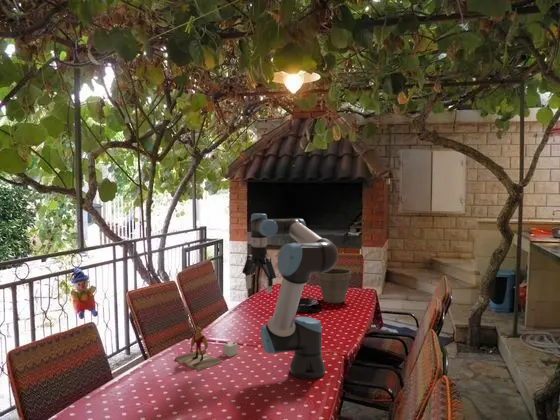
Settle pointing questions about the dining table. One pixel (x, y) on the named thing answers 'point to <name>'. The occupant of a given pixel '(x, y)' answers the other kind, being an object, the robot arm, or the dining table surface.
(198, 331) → the action figure
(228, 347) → the die
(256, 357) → the dining table surface
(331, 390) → the dining table surface
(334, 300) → the plant pot
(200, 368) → the board
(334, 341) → the dining table surface
